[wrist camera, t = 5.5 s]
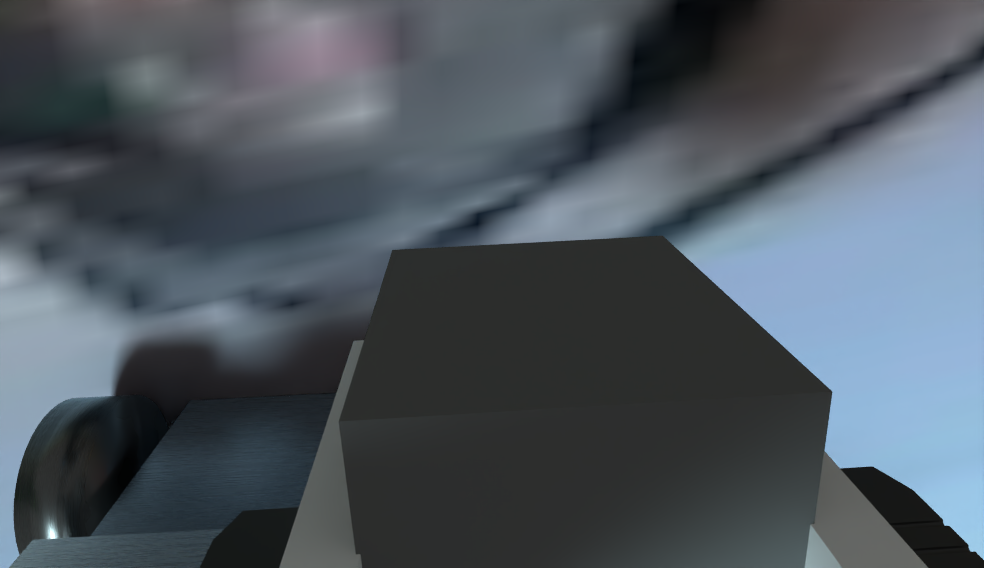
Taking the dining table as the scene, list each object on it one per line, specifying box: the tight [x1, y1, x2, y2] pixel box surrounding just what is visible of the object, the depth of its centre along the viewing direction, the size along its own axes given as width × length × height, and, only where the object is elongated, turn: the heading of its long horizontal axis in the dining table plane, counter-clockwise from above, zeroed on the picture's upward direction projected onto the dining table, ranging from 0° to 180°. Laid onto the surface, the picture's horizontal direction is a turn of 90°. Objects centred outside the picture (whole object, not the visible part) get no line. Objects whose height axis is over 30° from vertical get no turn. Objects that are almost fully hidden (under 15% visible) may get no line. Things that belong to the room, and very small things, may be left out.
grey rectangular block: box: [339, 236, 832, 568], centre depth 10 cm, size 6×4×6 cm
